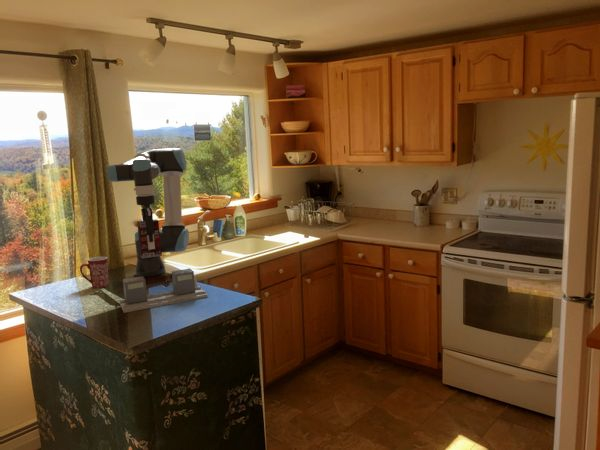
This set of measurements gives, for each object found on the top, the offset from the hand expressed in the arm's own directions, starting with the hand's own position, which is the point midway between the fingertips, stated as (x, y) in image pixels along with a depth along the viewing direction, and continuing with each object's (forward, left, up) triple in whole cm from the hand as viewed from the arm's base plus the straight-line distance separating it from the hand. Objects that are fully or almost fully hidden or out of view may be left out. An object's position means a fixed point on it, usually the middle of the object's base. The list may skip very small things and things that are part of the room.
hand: (150, 248), depth 220 cm
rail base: (+13, +1, -21) cm, 25 cm away
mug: (-30, -22, -21) cm, 43 cm away
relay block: (+2, +15, -21) cm, 26 cm away
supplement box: (0, 0, -4) cm, 4 cm away
